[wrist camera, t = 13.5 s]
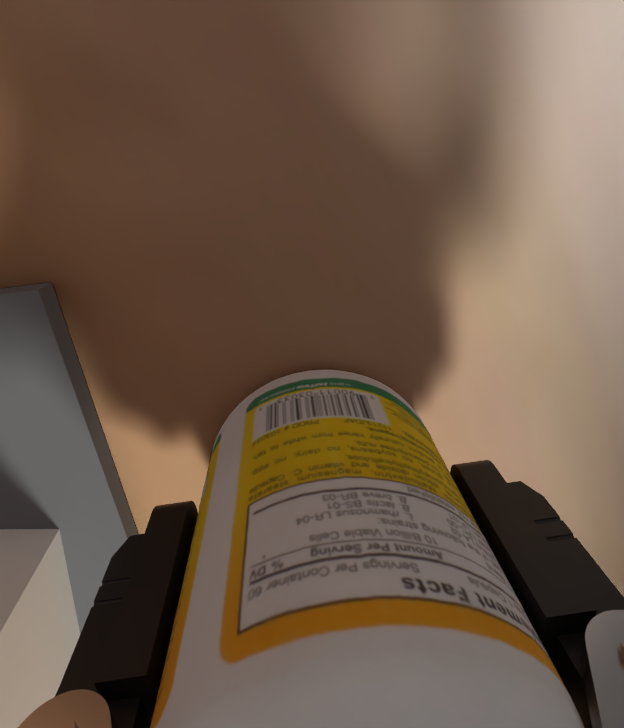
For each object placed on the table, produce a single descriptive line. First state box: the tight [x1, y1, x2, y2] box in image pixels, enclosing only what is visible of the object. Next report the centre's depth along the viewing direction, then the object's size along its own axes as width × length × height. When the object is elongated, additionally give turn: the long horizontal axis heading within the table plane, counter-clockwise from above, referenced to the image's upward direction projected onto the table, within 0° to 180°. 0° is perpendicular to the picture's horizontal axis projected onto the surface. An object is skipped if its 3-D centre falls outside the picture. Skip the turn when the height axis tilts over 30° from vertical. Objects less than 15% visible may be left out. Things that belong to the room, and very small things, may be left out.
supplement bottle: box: [150, 369, 584, 728], centre depth 7 cm, size 5×5×10 cm
